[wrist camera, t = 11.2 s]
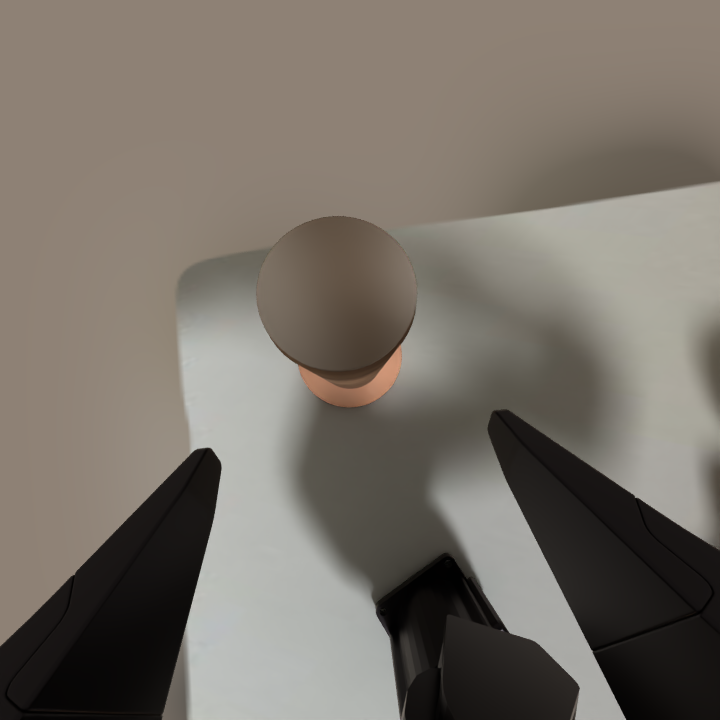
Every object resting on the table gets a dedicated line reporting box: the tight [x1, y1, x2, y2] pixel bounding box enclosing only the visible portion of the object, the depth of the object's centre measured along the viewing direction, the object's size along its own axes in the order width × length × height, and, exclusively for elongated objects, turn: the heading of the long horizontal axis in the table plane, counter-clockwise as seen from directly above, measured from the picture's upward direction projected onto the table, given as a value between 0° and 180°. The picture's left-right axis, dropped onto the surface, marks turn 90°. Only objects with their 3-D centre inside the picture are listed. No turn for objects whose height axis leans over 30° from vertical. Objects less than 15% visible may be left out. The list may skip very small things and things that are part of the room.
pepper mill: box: [256, 216, 417, 389], centre depth 15 cm, size 5×5×13 cm
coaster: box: [298, 345, 402, 407], centre depth 22 cm, size 8×8×1 cm
